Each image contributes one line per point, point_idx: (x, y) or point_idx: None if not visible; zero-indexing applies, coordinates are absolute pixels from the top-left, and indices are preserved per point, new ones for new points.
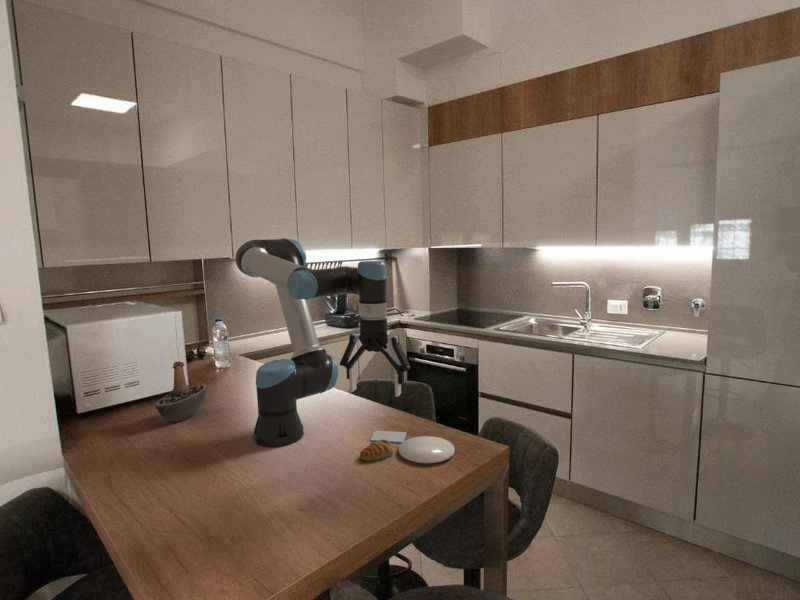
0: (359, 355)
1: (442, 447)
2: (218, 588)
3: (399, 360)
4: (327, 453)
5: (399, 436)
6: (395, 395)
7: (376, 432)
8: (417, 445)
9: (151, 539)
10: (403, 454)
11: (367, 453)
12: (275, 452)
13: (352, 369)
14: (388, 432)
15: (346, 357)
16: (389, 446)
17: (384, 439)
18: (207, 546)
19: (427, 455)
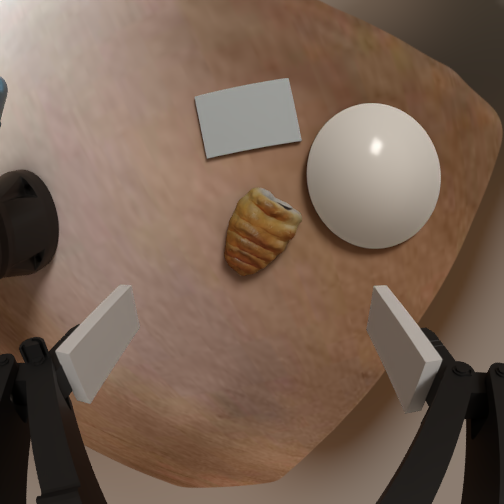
0: (100, 490)
1: (414, 163)
2: (229, 484)
3: (467, 469)
4: (144, 258)
5: (278, 109)
6: (369, 331)
7: (202, 108)
8: (354, 167)
9: (123, 455)
10: (334, 228)
11: (250, 270)
12: (60, 284)
13: (87, 391)
14: (236, 95)
15: (28, 444)
16: (293, 221)
17: (244, 142)
18: (176, 461)
19: (390, 215)
